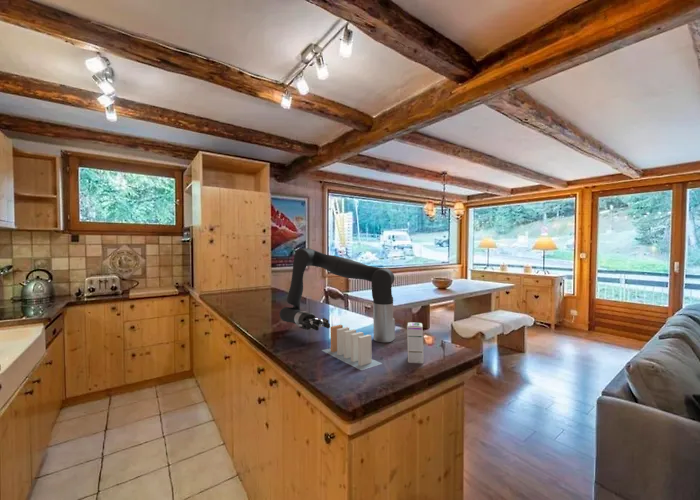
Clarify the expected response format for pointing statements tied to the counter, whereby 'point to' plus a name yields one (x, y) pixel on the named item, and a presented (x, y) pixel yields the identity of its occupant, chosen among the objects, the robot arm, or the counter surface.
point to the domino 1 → (334, 337)
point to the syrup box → (415, 342)
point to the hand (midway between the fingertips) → (323, 327)
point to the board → (348, 361)
